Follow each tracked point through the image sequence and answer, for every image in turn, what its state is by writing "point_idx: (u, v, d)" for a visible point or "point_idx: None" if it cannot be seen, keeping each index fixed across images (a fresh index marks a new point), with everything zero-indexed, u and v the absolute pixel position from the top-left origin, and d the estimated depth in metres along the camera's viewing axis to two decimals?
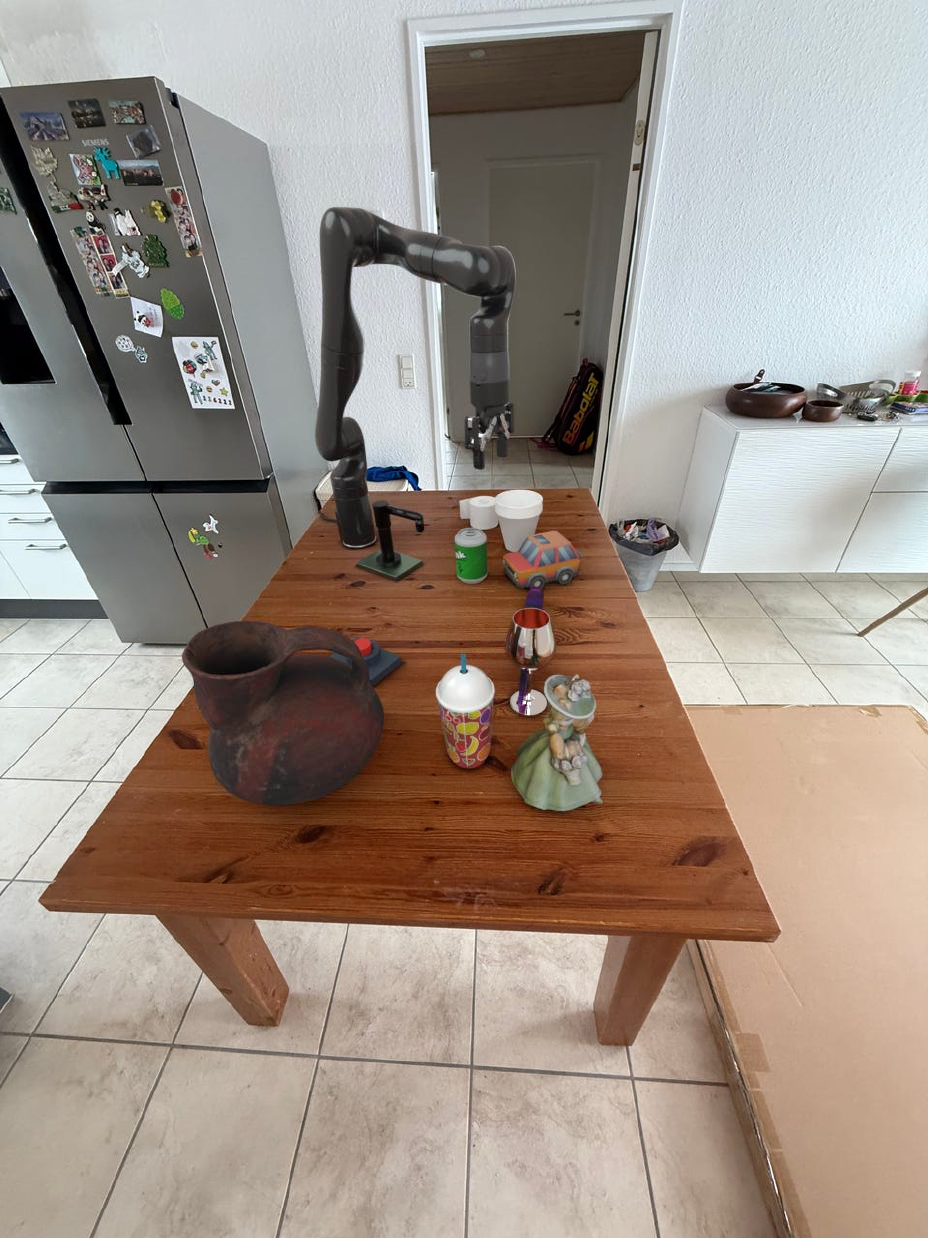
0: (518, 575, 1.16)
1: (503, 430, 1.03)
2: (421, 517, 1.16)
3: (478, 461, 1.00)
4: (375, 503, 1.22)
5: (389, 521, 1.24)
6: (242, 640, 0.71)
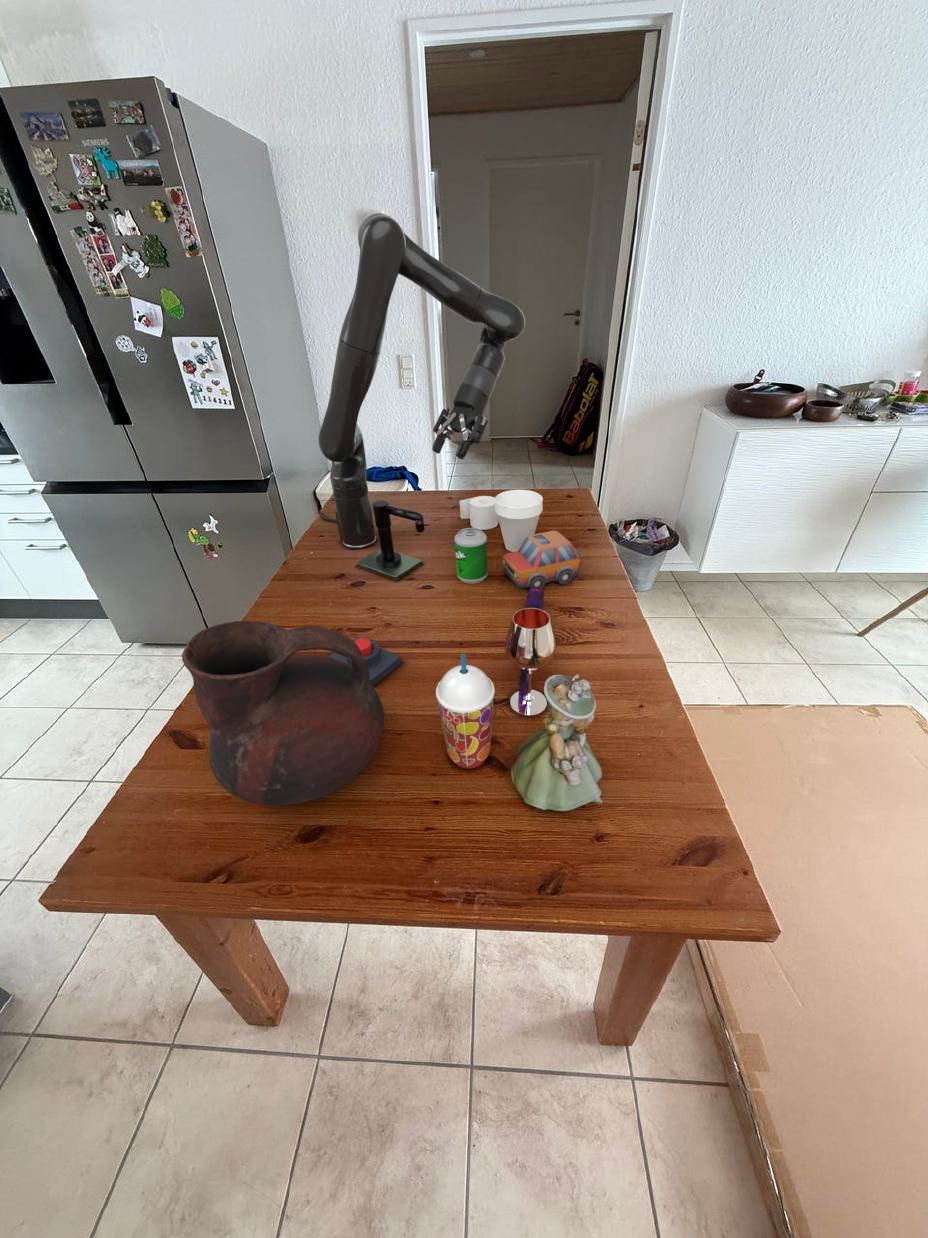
0: (518, 575, 1.16)
1: (452, 432, 1.24)
2: (421, 517, 1.16)
3: (466, 452, 1.18)
4: (375, 503, 1.22)
5: (389, 521, 1.24)
6: (242, 640, 0.71)
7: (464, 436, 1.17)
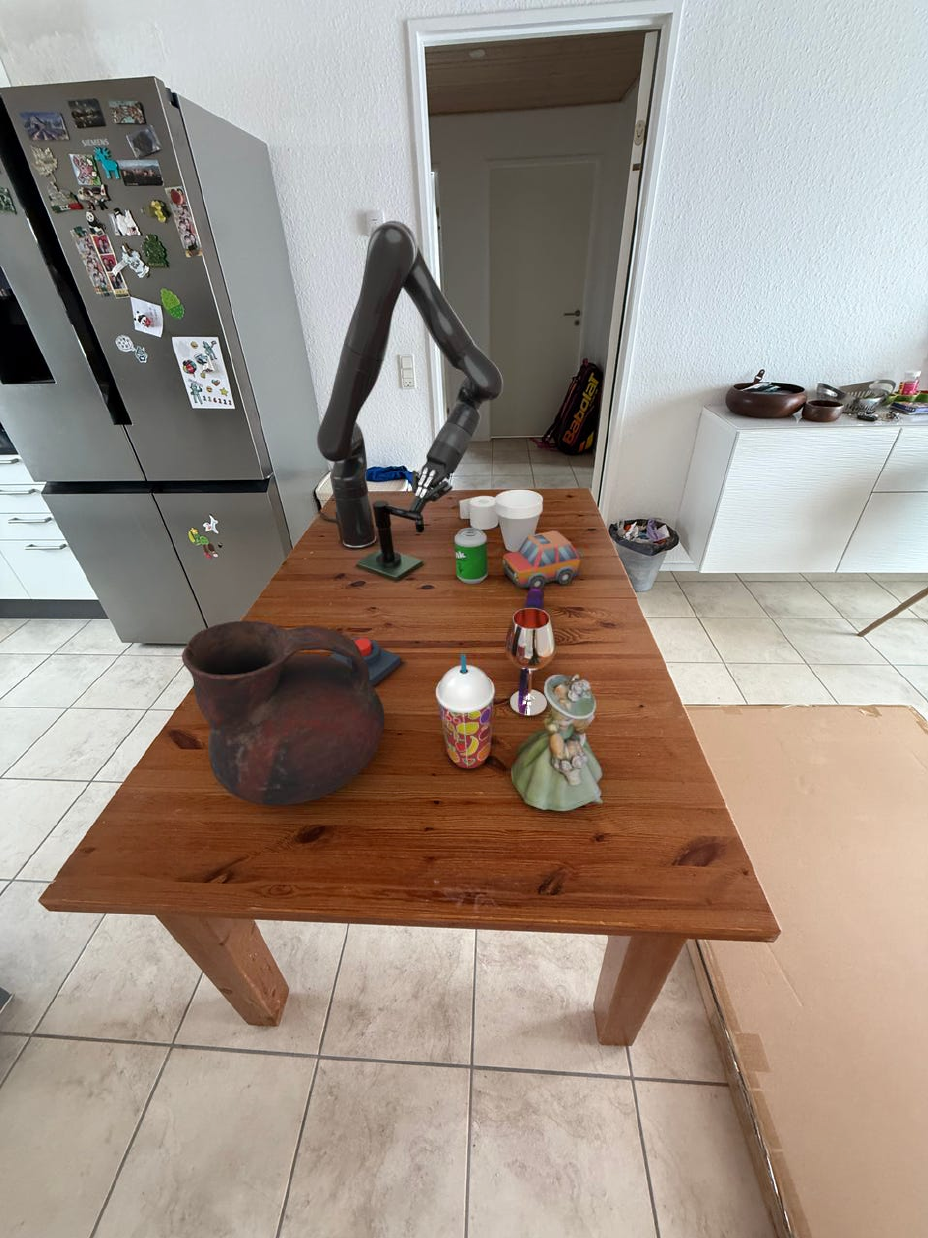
0: (518, 575, 1.16)
1: None
2: (421, 517, 1.16)
3: (422, 508, 1.19)
4: (375, 503, 1.22)
5: (389, 521, 1.24)
6: (242, 640, 0.71)
7: (422, 493, 1.18)
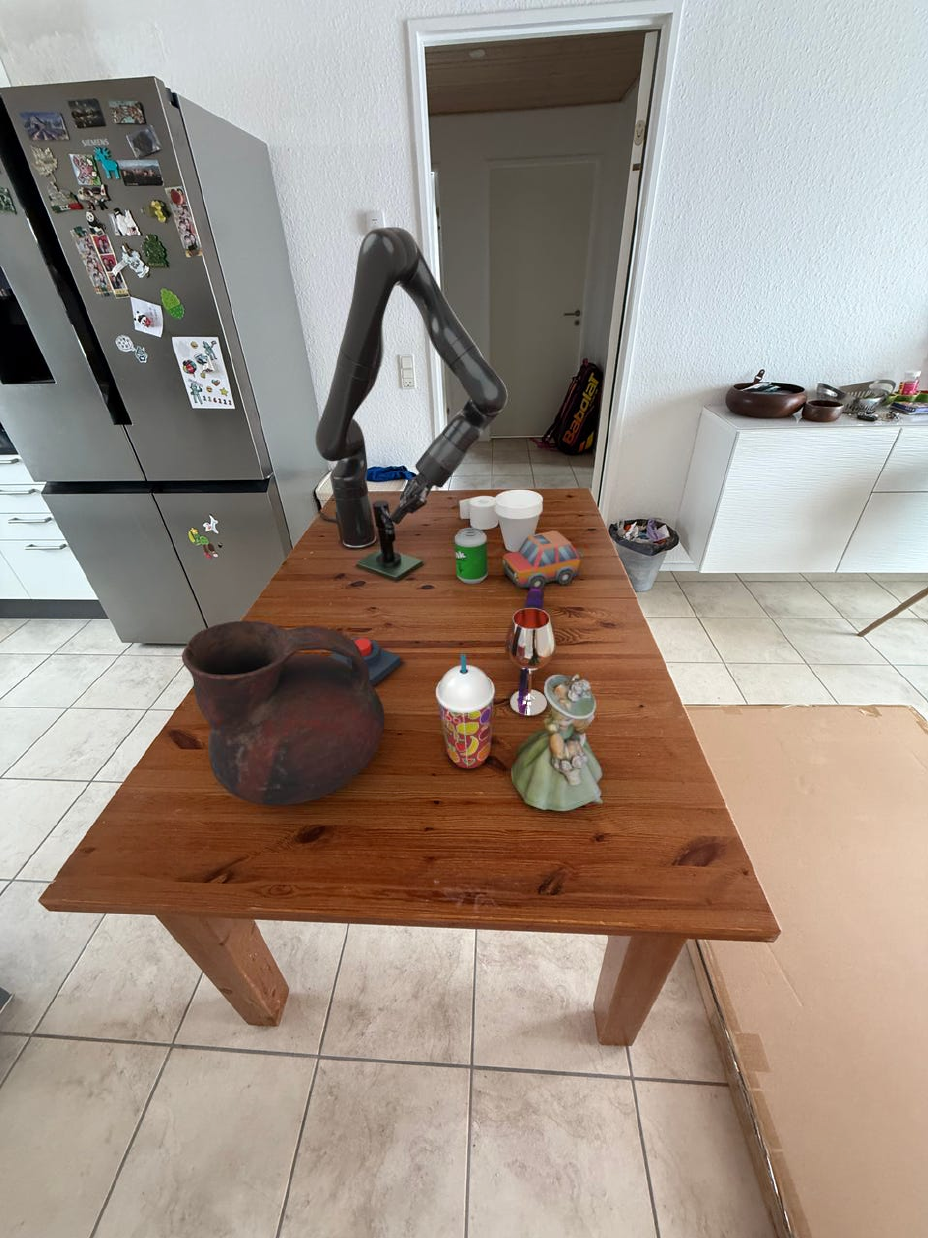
0: (518, 575, 1.16)
1: None
2: (389, 527, 1.12)
3: (401, 518, 1.15)
4: (377, 502, 1.23)
5: None
6: (242, 640, 0.71)
7: (402, 502, 1.13)
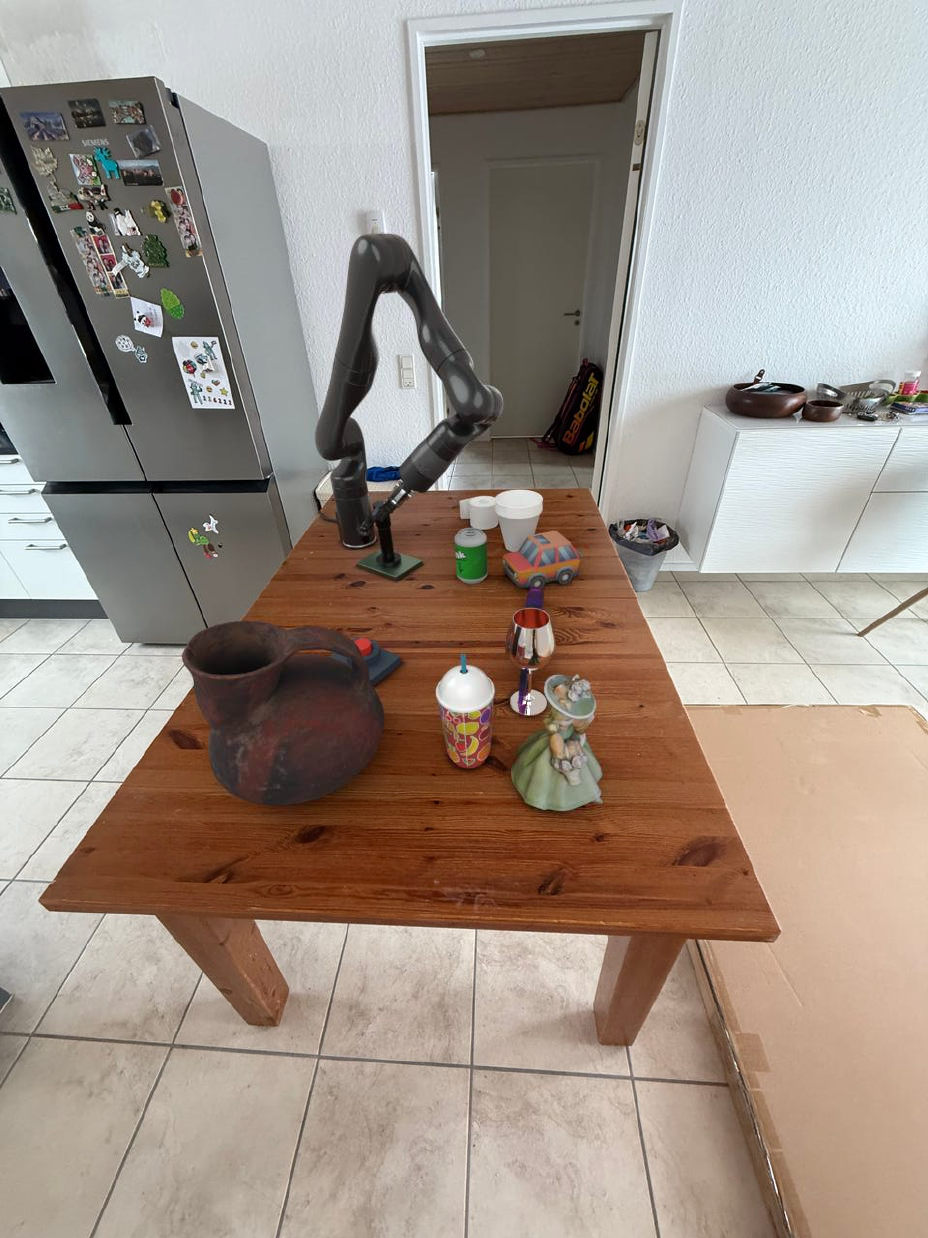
0: (518, 575, 1.16)
1: None
2: (362, 529, 1.12)
3: (383, 516, 1.12)
4: (379, 501, 1.23)
5: (382, 523, 1.23)
6: (242, 640, 0.71)
7: None
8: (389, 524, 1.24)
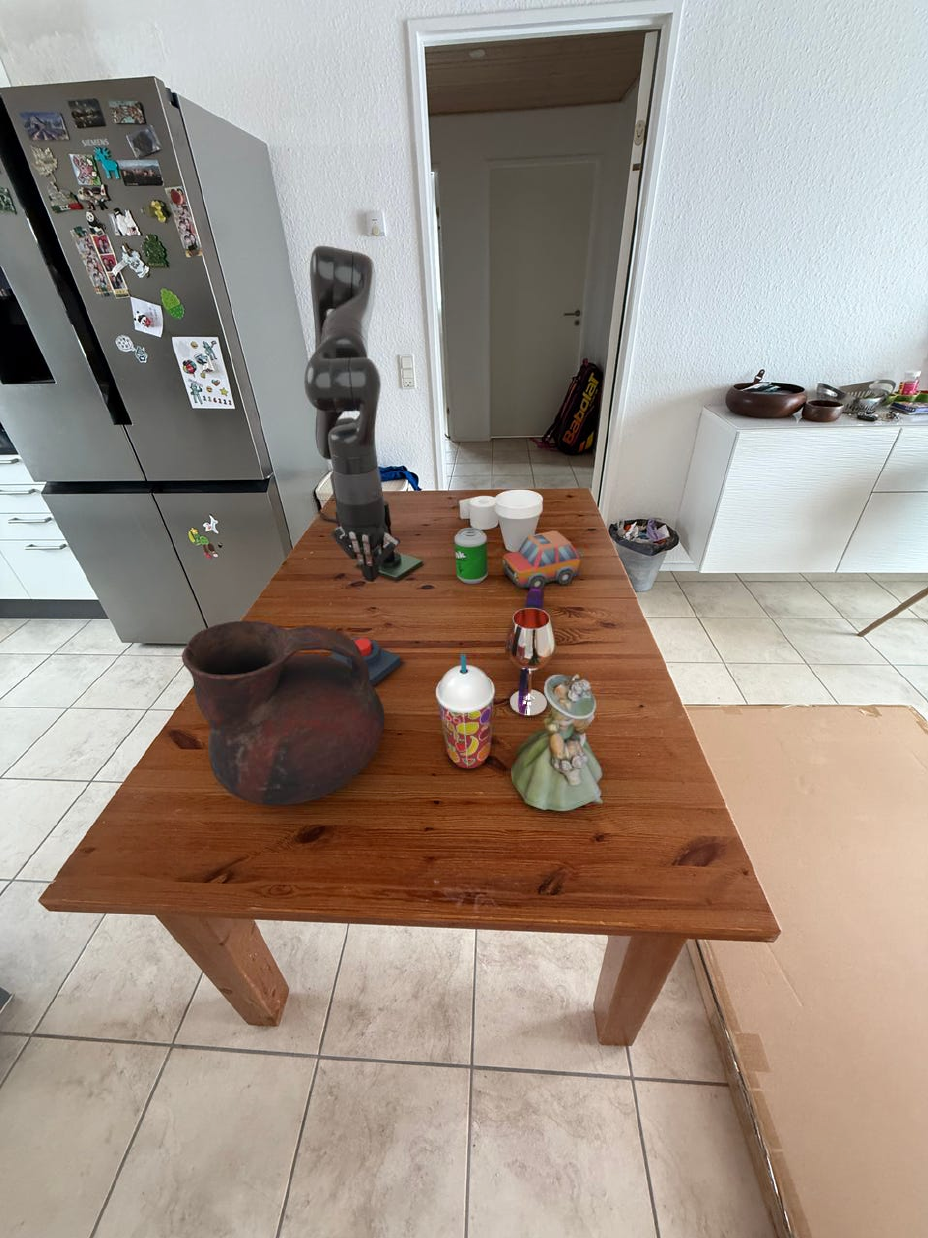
0: (518, 575, 1.16)
1: None
2: None
3: None
4: None
5: None
6: (242, 640, 0.71)
7: None
8: (389, 524, 1.24)
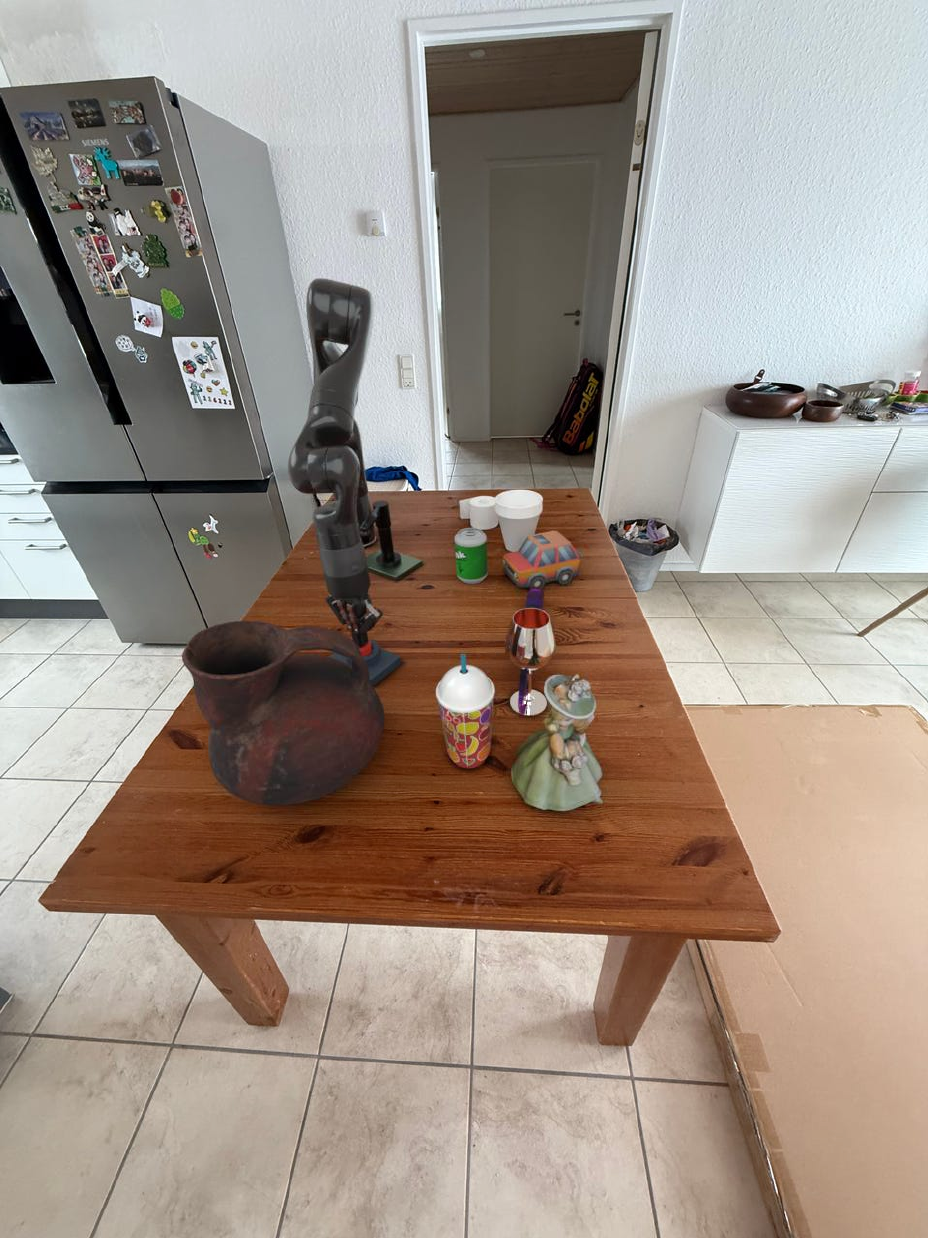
0: (518, 575, 1.16)
1: None
2: (362, 529, 1.12)
3: None
4: (379, 501, 1.23)
5: (382, 523, 1.23)
6: (242, 640, 0.71)
7: None
8: (389, 524, 1.24)
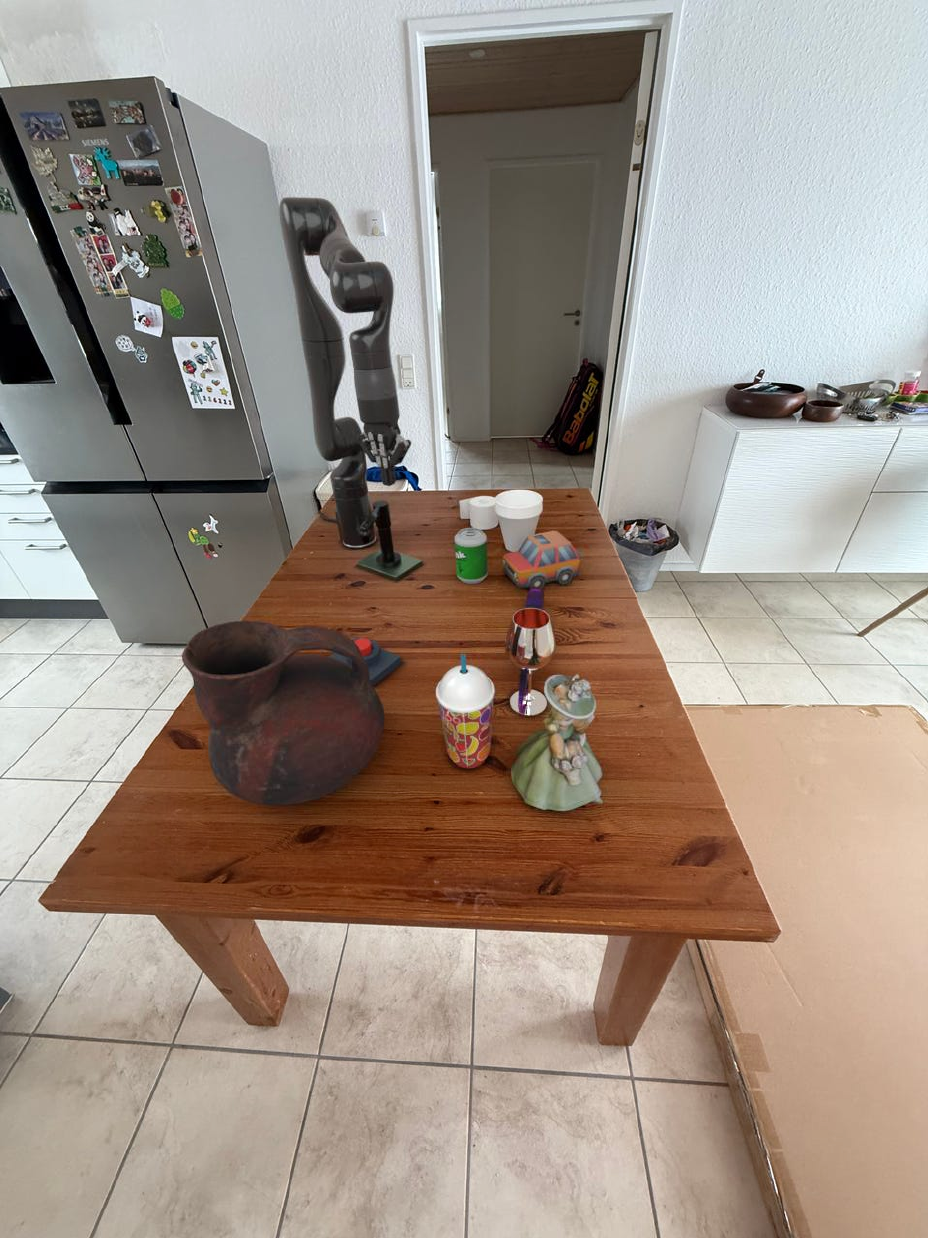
0: (518, 575, 1.16)
1: None
2: (362, 529, 1.12)
3: None
4: (379, 501, 1.23)
5: (382, 523, 1.23)
6: (242, 640, 0.71)
7: None
8: (389, 524, 1.24)
